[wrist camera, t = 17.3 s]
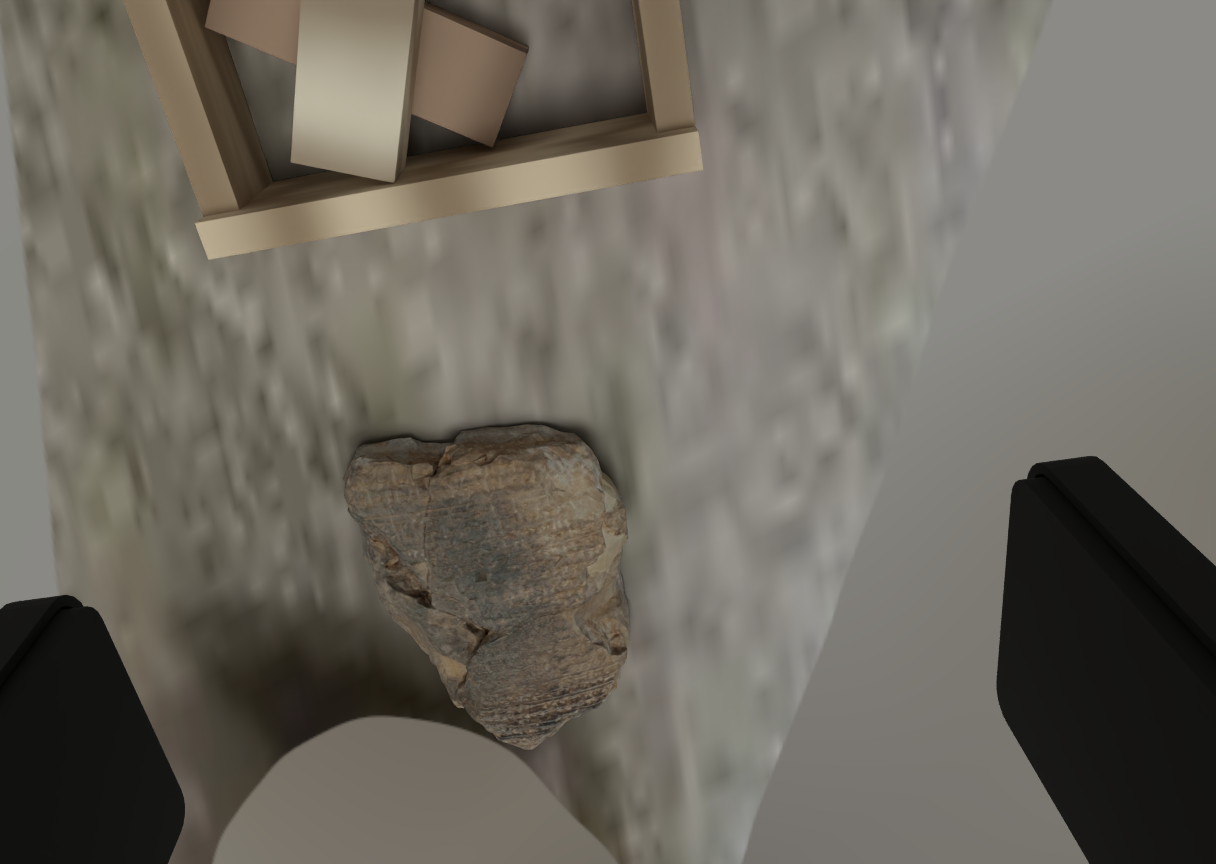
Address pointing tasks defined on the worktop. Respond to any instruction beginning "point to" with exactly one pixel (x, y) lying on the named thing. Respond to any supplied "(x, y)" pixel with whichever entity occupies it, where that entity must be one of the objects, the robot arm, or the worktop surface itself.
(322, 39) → the birch offcut
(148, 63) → the oak rack
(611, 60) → the worktop surface
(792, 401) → the worktop surface
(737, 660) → the worktop surface
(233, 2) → the walnut offcut
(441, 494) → the clay tablet
